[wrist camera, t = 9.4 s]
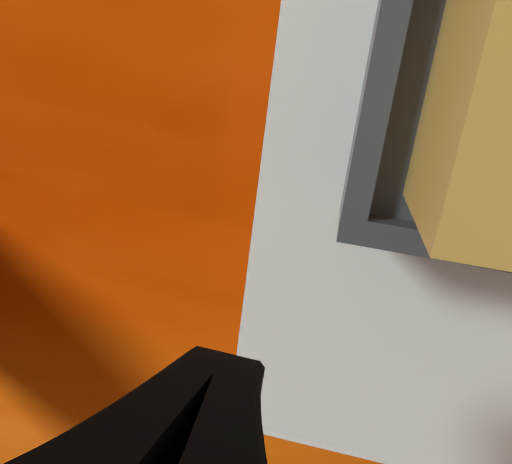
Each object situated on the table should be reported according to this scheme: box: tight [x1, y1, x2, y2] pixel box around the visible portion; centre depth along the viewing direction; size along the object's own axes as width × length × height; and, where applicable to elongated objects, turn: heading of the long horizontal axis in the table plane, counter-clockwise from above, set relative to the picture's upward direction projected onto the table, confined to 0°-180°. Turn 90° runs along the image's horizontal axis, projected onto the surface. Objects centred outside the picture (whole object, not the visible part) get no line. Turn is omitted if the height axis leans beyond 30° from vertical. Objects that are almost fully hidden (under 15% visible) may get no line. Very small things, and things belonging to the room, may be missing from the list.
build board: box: [237, 0, 512, 464], centre depth 17 cm, size 20×14×1 cm
